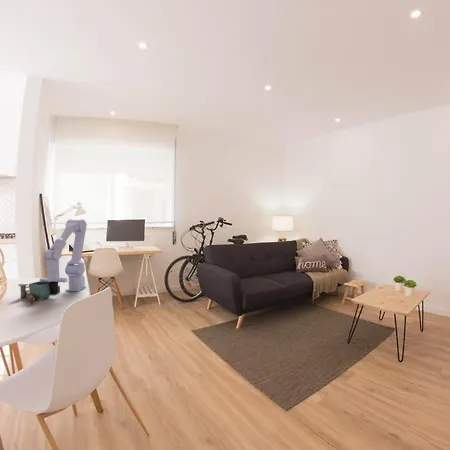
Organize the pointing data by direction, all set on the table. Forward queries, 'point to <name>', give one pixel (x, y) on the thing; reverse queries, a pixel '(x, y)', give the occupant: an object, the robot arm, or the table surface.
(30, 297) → the v jig
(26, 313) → the table surface
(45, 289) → the flower pot
